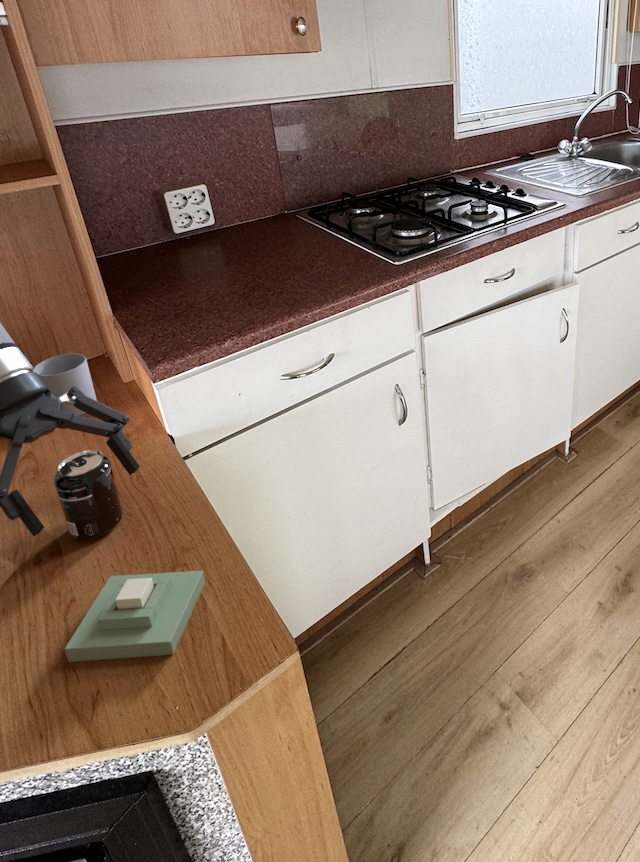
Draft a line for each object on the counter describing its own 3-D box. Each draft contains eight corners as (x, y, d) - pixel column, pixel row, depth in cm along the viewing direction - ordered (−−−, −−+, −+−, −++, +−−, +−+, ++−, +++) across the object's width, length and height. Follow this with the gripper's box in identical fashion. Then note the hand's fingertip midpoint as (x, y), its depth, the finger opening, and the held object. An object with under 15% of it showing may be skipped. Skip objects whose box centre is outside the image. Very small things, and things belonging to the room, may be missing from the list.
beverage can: (106, 504, 92) (89, 441, 88) (134, 519, 89) (118, 455, 85) (60, 535, 86) (40, 469, 82) (88, 551, 83) (69, 485, 79)
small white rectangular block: (117, 610, 71) (114, 600, 71) (130, 589, 74) (127, 578, 73) (143, 609, 71) (140, 598, 71) (154, 587, 74) (152, 577, 74)
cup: (104, 394, 120) (93, 352, 117) (84, 418, 113) (73, 373, 109) (59, 397, 119) (47, 355, 116) (36, 422, 111) (22, 377, 108)
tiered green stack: (68, 662, 69) (60, 638, 67) (113, 587, 78) (107, 565, 77) (173, 654, 70) (167, 631, 68) (205, 582, 79) (201, 560, 78)
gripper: (87, 359, 99) (160, 458, 98) (-107, 443, 78) (-16, 570, 76) (99, 338, 95) (176, 441, 94) (-101, 420, 74) (-5, 554, 73)
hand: (90, 499), depth 85 cm, fingers open, 13 cm apart
